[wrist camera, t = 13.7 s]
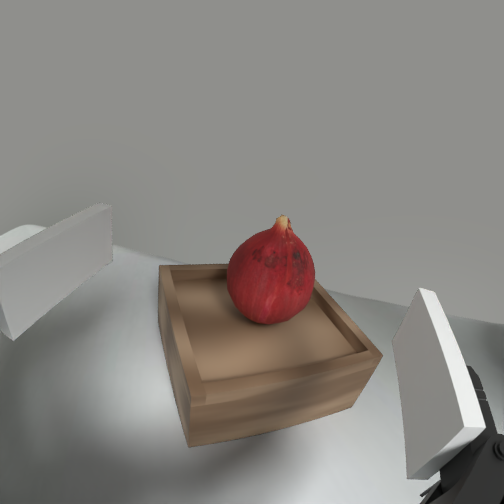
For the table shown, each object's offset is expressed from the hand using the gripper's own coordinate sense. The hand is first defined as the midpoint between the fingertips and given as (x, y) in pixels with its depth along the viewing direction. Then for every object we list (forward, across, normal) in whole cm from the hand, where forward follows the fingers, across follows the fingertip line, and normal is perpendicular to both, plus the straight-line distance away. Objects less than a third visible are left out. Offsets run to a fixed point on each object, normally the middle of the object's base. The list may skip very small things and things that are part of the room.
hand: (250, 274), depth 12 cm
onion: (+8, 0, -8) cm, 11 cm away
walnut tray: (+8, 0, -13) cm, 15 cm away
